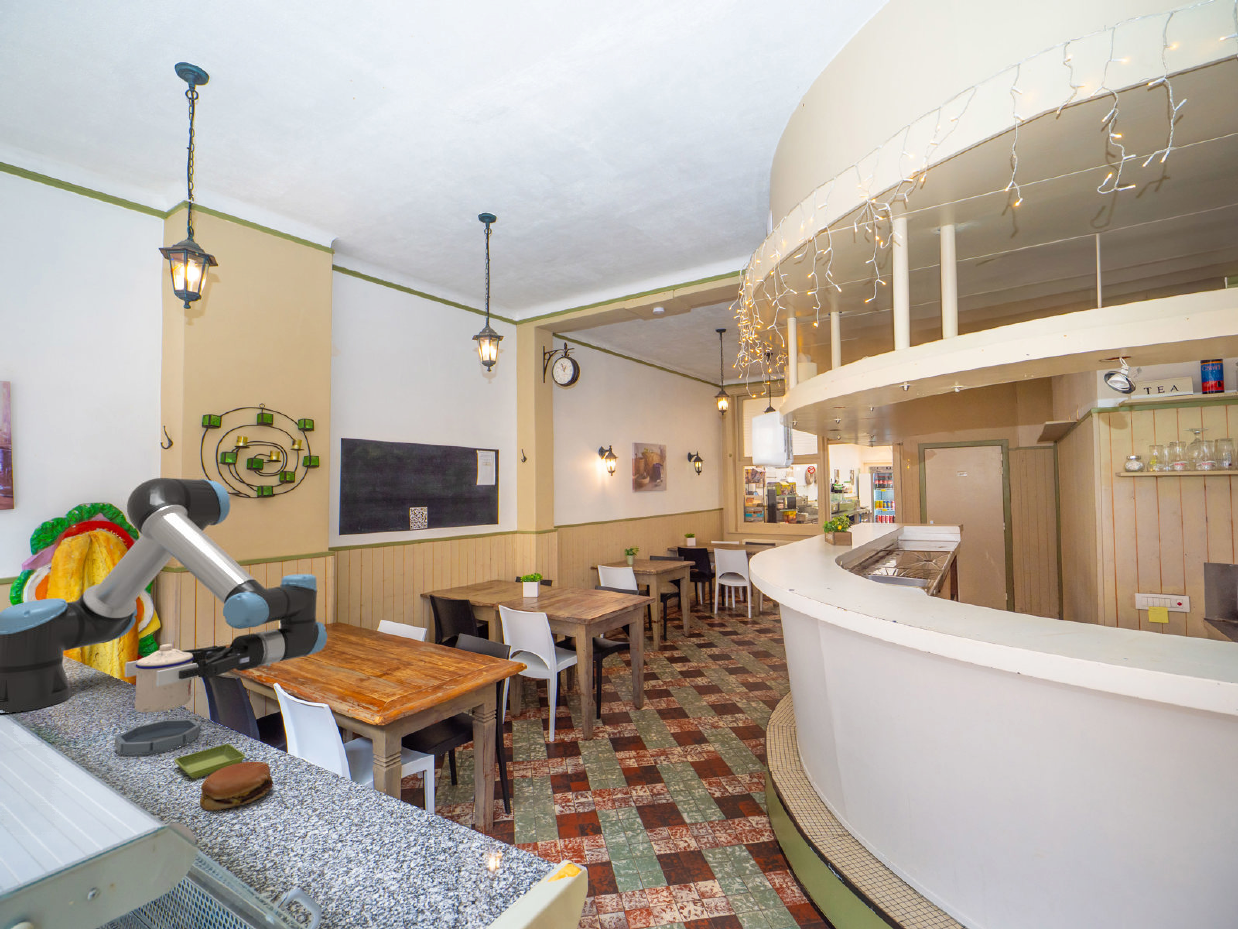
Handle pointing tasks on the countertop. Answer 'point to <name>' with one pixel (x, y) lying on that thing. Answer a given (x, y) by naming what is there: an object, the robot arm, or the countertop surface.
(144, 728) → the ashtray
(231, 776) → the burger
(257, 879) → the countertop surface
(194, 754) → the green shallow square dish
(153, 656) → the teacup with lid
